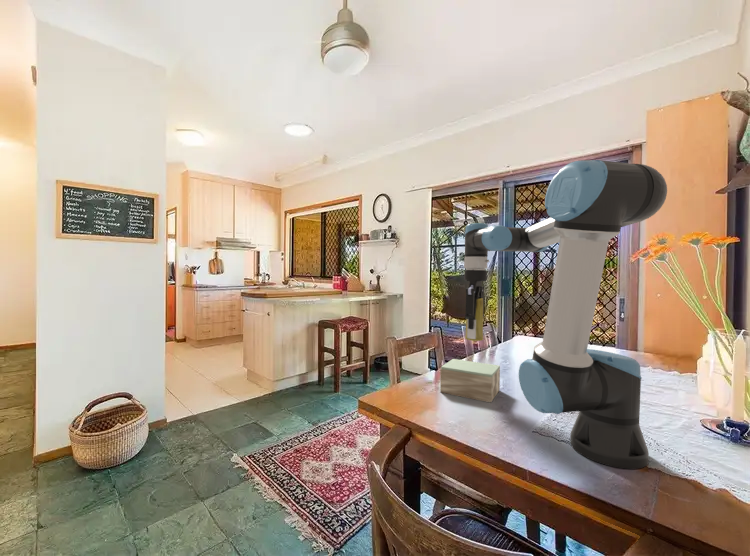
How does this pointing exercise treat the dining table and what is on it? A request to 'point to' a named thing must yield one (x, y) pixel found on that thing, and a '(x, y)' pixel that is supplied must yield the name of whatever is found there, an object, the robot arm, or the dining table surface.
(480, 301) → the vase
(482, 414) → the dining table surface
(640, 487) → the dining table surface
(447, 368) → the lid
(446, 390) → the box
